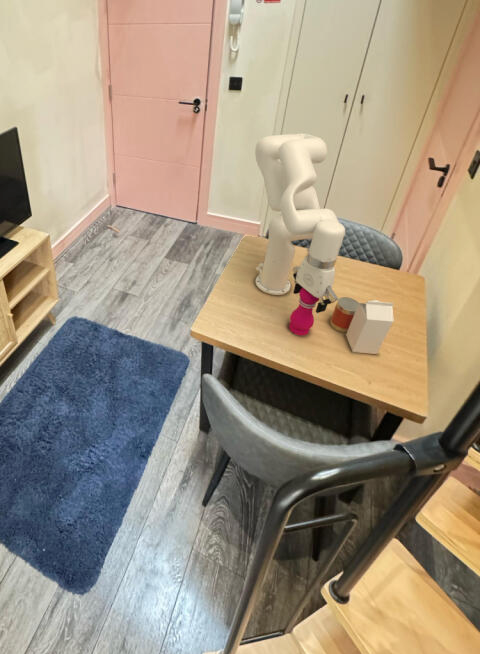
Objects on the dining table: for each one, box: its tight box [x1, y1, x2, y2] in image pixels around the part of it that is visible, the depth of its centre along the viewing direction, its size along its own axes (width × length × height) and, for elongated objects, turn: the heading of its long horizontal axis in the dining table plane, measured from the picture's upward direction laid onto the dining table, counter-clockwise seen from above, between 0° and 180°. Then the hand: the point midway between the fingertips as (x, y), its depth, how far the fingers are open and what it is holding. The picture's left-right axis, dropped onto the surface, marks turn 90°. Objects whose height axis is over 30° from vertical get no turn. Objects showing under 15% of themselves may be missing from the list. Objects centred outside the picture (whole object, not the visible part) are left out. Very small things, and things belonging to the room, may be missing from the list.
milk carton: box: [345, 299, 395, 355], centre depth 124 cm, size 7×7×19 cm
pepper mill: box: [288, 288, 320, 336], centre depth 131 cm, size 7×7×20 cm
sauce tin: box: [329, 296, 360, 333], centre depth 134 cm, size 7×7×10 cm
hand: (308, 301), depth 129 cm, fingers open, 9 cm apart
